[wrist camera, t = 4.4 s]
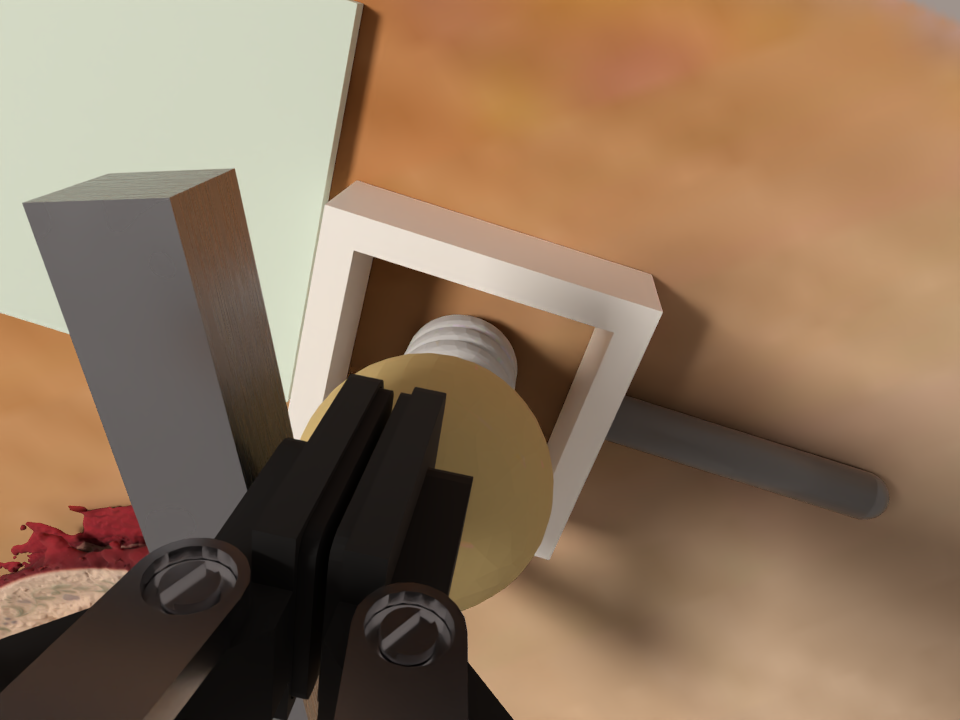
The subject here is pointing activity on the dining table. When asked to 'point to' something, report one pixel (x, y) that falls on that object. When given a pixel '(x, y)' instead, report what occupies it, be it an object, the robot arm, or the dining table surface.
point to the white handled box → (562, 291)
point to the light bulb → (478, 446)
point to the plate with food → (68, 568)
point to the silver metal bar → (170, 341)
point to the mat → (176, 124)
